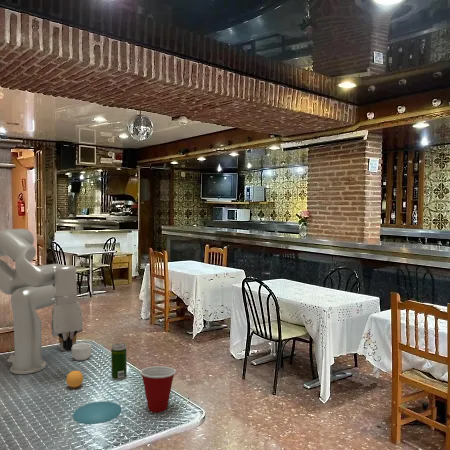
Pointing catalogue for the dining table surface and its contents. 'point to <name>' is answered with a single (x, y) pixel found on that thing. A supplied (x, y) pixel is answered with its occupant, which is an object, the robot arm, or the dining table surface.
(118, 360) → the green soda can
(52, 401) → the dining table surface
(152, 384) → the plastic cup
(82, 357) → the teacup
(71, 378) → the ball
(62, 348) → the coffee cup
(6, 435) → the dining table surface
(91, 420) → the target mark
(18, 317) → the robot arm
